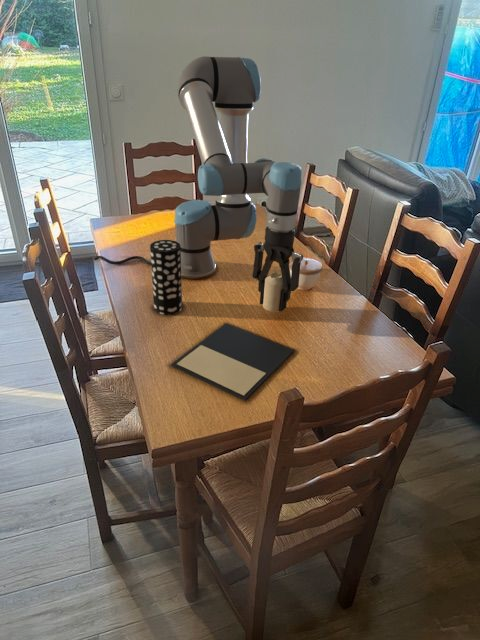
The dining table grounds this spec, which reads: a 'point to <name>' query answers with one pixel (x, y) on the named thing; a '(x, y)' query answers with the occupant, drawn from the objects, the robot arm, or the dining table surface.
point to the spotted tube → (166, 276)
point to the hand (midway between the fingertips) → (272, 305)
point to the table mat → (233, 360)
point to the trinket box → (308, 273)
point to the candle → (272, 292)
